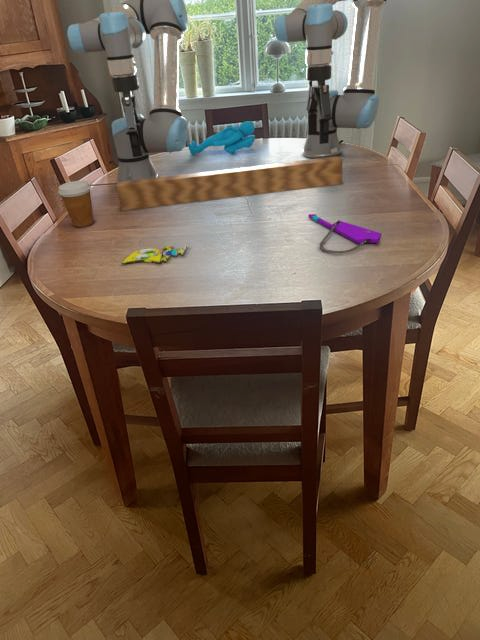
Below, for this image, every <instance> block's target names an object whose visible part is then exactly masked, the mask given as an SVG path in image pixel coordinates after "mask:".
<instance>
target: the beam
mask: <svg viewBox="0 0 480 640" xmlns="http://www.w3.org/2000/svg"><path fill="white" fill-rule="evenodd" d="M343 162H344V160H343V158H341V156H340V155H338V156H335V157H327V158H319V159H316V158H309V159H303V160H302V159H301V160H294V161H286V162H277V163H269V164H260V165H251V166H242V167H235V168H226V169H217V170H212V171H211V170H209V171H202V172H201V171H200V172H193V173H192V172H191V173H185V174H176V175H175V174H174V175H168V176H166V175H165V176H158V177H157V178H149V179H140V180H132V181H123V182H118V181H117V182H116V184H115V188H116V192H117V197H118V201H119V206H120V210H121V212H122V211H123V212H124V211H133V210H140V209H149V208H156V207H164V206H173V205H180V204H181V205H182V204H189V203H196V202H204V201H212V200H220V199H221V200H222V199H228V198H229V199H230V198H238V197H246V196H253V195H263V194H271V193H278V192H279V193H280V192H286V191H295V190H303V189H311V188H319V187H327V186H336V185H342V184H343Z"/></svg>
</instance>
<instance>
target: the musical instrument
mask: <svg viewBox="0 0 480 640" xmlns="http://www.w3.org/2000/svg"><path fill="white" fill-rule="evenodd" d="M308 218H309V219H311V220H313V221H314V222H316V223H318V224H320V225H322V226H324V227H326V228H328V229H330V230H329V231H328V232H327V233H326V234H325V236H324V237H323V239H322V240H321V241H320V243H319V249H320V250H321V251H323V252H324V253H325V252H326V253H335V254H344V253H348V252H352V251H355V250H356V249H358V248H360V247H361V246H363V245H364V244H366V243H371V244H378V243H379V242H380V239H381V237H382V233H381V232H378V231H376V230H371V229H368V228H365V227H362V226H358V225H355V224H353V223H348V222H345V221H342V220H339V219H338V220H337V221H336V222H334V223H331V222H328V221H327V220H324V219H323V218H321V217H319V216H318V215H317V214H315V213H309V214H308ZM333 231H334V232H335V233H337V234H339V235H341V236H343V237H344V238H346V239H348V240H349V241H352V242H354V243H355V244H357V245H356V246H354V247H352V248H350V249H346V250H332V249H325V248H324V243H325V242H326V240H327V238H328V237H329V236H330V235H331V233H332V232H333Z"/></svg>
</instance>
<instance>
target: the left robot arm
mask: <svg viewBox="0 0 480 640" xmlns="http://www.w3.org/2000/svg"><path fill="white" fill-rule="evenodd" d="M185 4H186V3H185V1H184V0H126V1H123V2H121V3H118V4H117V5H115V6H114V7H113V8H112V11H110V12H102V13H101V14H99V16H98V17H96V18H94V19H91V20H88V21H86V22H82V23H78V22H77V23H74V24H70V25H69V26H68V28H67V32H66V33H67V39H68V43H69V46H70V48H71V50H72V51H74V52H75V53H77V54H87V53H95V52H96V53H97V52H104V51H105V55H106V63H107V66H108V72H109V76H111V79H110V80H111V85H112V89H113V92H115V93H122V97H121V99H120V100H121V101H120V102H121V105H122V108H123V113H124V115H125V116H123V117H120V118H118V119H117V118H116V119H115V120H113V121H112V122H111V132H112V134H111V135H112V138H113V142H114V146H115V151H116V156H117V160H118V162H115V161H114V160H110V161H109V164H108V165H111V164H112V163H113V164H114V165H115V166H116V167H117V168H118V170H117V182H123V181H132V180H140V179H149V178H157V177H159V176H158V172H157V169H156V168H155V166H154V163H153V161H152V159H151V156H150V154H157V153H170V154H171V153H176V152H177V153H178V152H181V151H182V150H184V148H185V146H186V144H187V139H188V122H187V119H186V117H184V116H183V113H182V112H181V110H180V109H179V43H180V42H181V41H182V40H183V37H184V33H185V32H187V31H188V30H189V16H188V12H187V7H186V5H185ZM146 35H149V36H150V38H151V39H152V40H153V45H154V46H153V107H152V108H151V109H150V110H149V118H144V116H143V114H142V113H138V112H137V104H136V103H137V100H136V96H135V95H134V91H138V90H139V89H140V84H139V78H138V76H137V74H136V73H137V68H136V67H137V66H136V65H138V61H137V60H135V55H134V49H136V50H137V49H138V48H140V47H141V46H142V45H143V44H144V43H145V41H146V37H147V36H146Z"/></svg>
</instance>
